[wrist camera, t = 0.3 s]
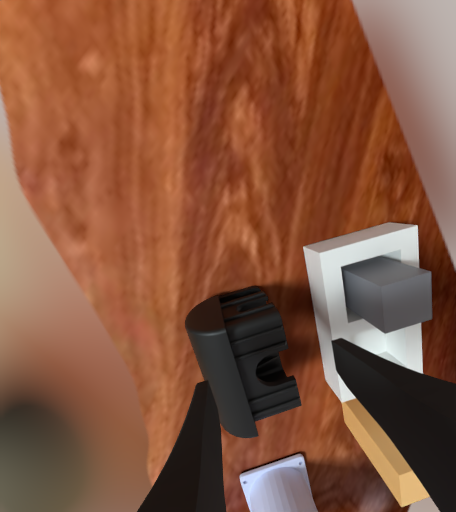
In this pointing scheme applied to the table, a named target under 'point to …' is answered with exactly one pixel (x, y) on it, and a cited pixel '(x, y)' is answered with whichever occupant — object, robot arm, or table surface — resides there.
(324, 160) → the table surface
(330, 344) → the socket strip
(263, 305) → the end cap
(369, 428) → the tan rectangular block
